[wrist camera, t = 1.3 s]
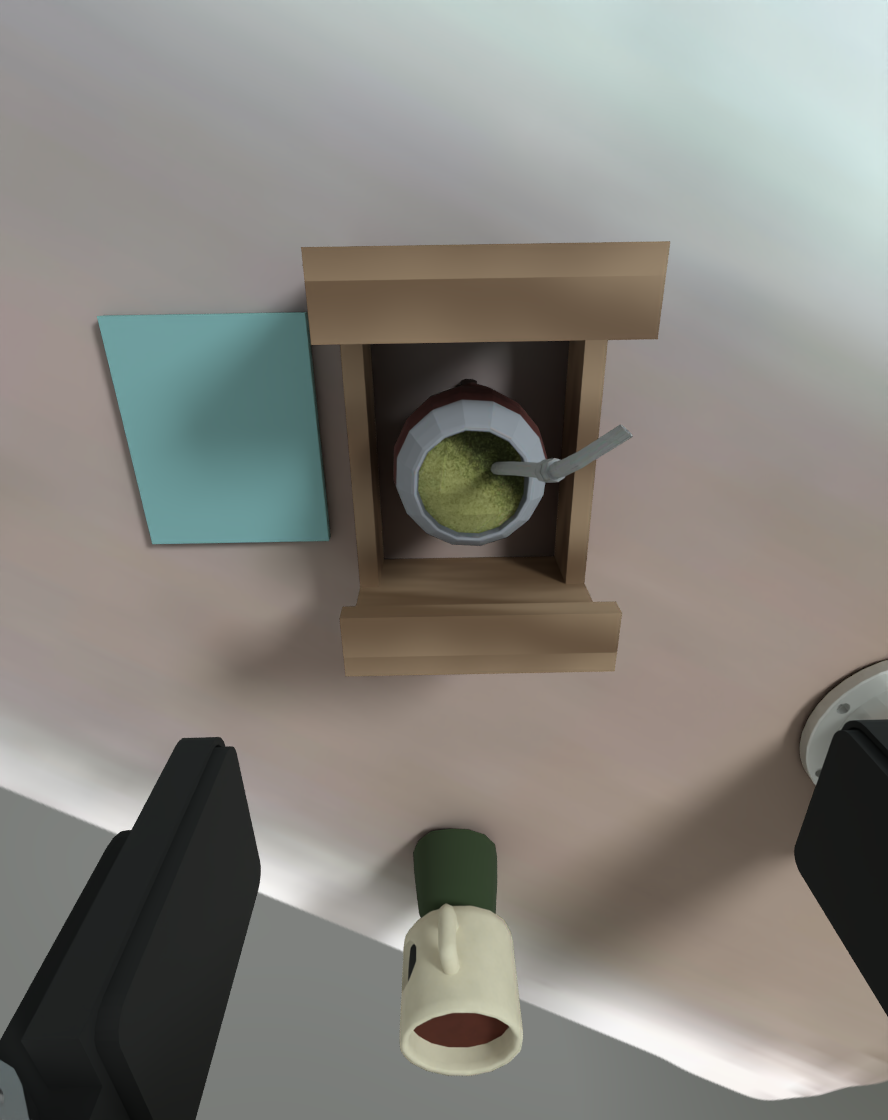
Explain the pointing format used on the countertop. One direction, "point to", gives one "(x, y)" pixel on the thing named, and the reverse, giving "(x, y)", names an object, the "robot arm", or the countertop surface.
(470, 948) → the character mug
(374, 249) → the walnut box
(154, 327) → the teal mat
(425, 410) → the mate gourd
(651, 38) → the countertop surface
